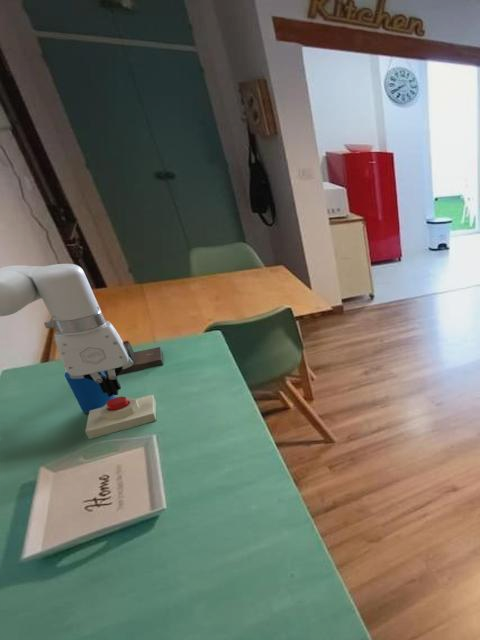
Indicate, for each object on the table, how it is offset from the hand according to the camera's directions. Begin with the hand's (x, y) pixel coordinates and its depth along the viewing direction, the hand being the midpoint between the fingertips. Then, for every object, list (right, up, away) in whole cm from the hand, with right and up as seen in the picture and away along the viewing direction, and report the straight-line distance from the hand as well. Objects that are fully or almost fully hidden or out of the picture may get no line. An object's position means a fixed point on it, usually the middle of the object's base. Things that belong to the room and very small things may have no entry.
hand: (113, 393), depth 98 cm
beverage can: (-10, -5, +7) cm, 13 cm away
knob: (-19, +7, +25) cm, 32 cm away
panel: (-19, +5, +26) cm, 33 cm away
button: (0, -3, +2) cm, 4 cm away
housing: (0, -7, +3) cm, 8 cm away
